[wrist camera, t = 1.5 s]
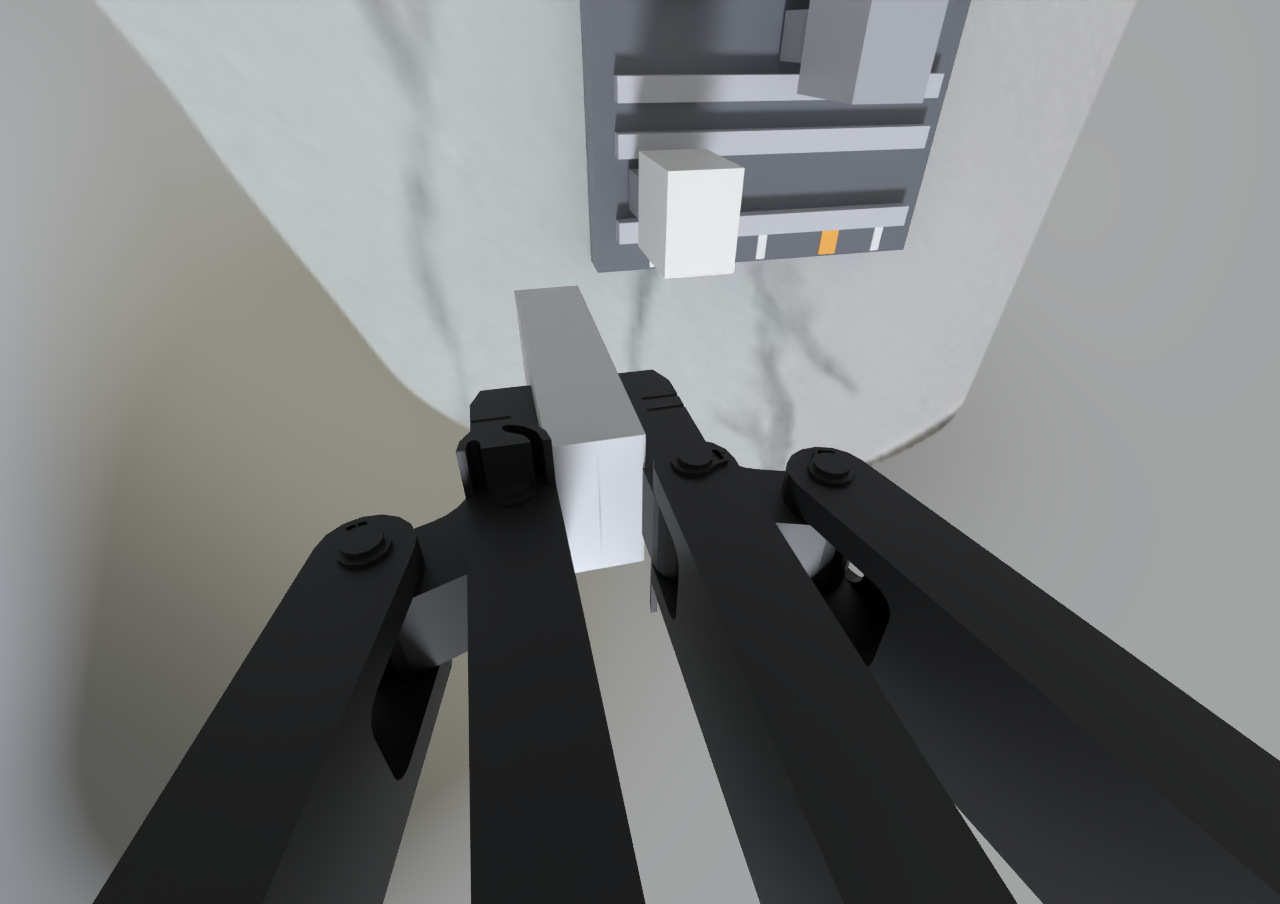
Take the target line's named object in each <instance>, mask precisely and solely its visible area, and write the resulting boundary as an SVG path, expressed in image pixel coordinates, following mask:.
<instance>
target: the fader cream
mask: <svg viewBox="0 0 1280 904" xmlns="http://www.w3.org/2000/svg"><path fill="white" fill-rule="evenodd" d="M744 170H745V168H744V167H742V166H740V165H737V164H735V163H733V162H731V161H729V160H727V159H725V158H723V157H721V156H719V155H717V154H715V153H713V152H711V151H709V150H707V149H683V150H653V151H639V169H629V210H630V211H631V212H632V213H633V214H634V215H635V216H636V217H637V218H638V247H639V248H640V249H641V250H642V252H643V253H644V254H645V255H646V256H647V258H648V259H649V260H650V261H651V263H652V264H653V265H654V266H655V268H656V269H657V270H658V271H659V272H660V274H661V275H662V276H663V277H664V279H668V278H681V277H693V276H706V275H718V274H731V273H734V266H735V257H736V247H737V238H738V228H739V218H740V209H741V199H742V189H743V180H744Z"/></svg>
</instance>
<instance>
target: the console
mask: <svg viewBox="0 0 1280 904" xmlns="http://www.w3.org/2000/svg"><path fill="white" fill-rule="evenodd" d="M970 2H971V0H949V1H948V5H947V9H946V13H945V17H944V21H943V25H942V29H941V33H940V37H939V41H938V45H937V49H936V53H935V57H934V61H933V64H932V68H931V72H930V76H929V80H928V84H927V88H926V92H925V96H924V100H923V103H903V104H847V103H842V102H836V101H831V100H826V99H821V98H816V97H810V96H805V95H800V94H797V88H798V81H799V74H800V67H801V63H797V62H787V61H780V54H781V46H782V38H783V30H784V21H785V13H786V11H787V10H804V9H809V4H810V0H580V9H581V33H582V56H583V79H584V103H585V126H586V149H587V173H588V196H589V220H590V243H591V261H592V263H593V265H594V266H595V268H596V270H597V272H598V273H601V272H614V271H627V270H640V269H653V268H655V266H654V265H653V264H652V263H651V261H650V260H649V259H648V258H647V256H646V255H645V254H644V253H643V252H642V250H641V249H640V248H639V247H638V218H637V217H636V216H635V215H634V214H633V213H632V212H631V211H630V210H629V169H639V151H653V150H683V149H707V150H709V151H711V152H713V153H715V154H717V155H719V156H721V157H723V158H725V159H727V160H729V161H731V162H733V163H735V164H737V165H740V166H742V167H744V168H745V170H744V180H743V189H742V199H741V209H740V218H739V228H738V238H737V247H736V257H735V262H745V261H758V260H771V259H784V258H798V257H811V256H824V255H837V254H850V253H863V252H876V251H889V250H903V248H904V245H905V241H906V237H907V234H908V230H909V226H910V223H911V219H912V215H913V212H914V208H915V204H916V201H917V197H918V193H919V190H920V186H921V182H922V179H923V175H924V171H925V168H926V164H927V160H928V156H929V153H930V149H931V145H932V142H933V138H934V134H935V131H936V127H937V123H938V120H939V116H940V112H941V109H942V105H943V101H944V98H945V94H946V90H947V87H948V83H949V79H950V76H951V72H952V68H953V65H954V61H955V57H956V54H957V50H958V46H959V42H960V39H961V35H962V31H963V28H964V24H965V20H966V17H967V13H968V9H969V6H970Z"/></svg>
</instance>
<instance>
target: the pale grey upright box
mask: <svg viewBox="0 0 1280 904" xmlns="http://www.w3.org/2000/svg"><path fill="white" fill-rule="evenodd" d="M948 1H949V0H810V4H809V9H804V10H787V11H786V13H785V21H784V30H783V38H782V46H781V54H780V61H787V62H797V63H801V67H800V74H799V81H798V88H797V94H800V95H805V96H810V97H816V98H821V99H826V100H831V101H836V102H842V103H847V104H903V103H923V100H924V96H925V92H926V88H927V84H928V80H929V76H930V72H931V68H932V64H933V61H934V57H935V53H936V49H937V45H938V41H939V37H940V33H941V29H942V25H943V21H944V17H945V13H946V9H947V5H948Z"/></svg>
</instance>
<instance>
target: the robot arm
mask: <svg viewBox="0 0 1280 904" xmlns="http://www.w3.org/2000/svg"><path fill="white" fill-rule="evenodd" d="M515 299H516V307H517V315H518V323H519V331H520V339H521V347H522V355H523V363H524V371H525V379H526V386H519V387H510V388H501V389H493V390H484V391H480V392H479V393H478V395H477V396H476V398H475V399H474V400H473V402H472V403H471V405H470V423H471V424H470V432H469V433H468V434H467V435H466V436H465V437H464V438H463V439H462V440H461V441H460V442H459V444H458V447H457V450H456V455H457V460H458V464H459V469H460V473H461V478H462V482H463V487H464V491H465V496H466V499H465V500H464V501H463V502H462V504H460V505H459V506H458V507H457V508H456V509H455V510H453V511H452V512H450V513H449V514H448V515H446V516H444V517H442V518H439V519H437V520H435V521H433V522H431V523H428V524H425V525H423V526H420V527H417V528H415V529H413V527H412V525H411V524H410V523H409V522H407V521H405V520H403V519H402V518H400V517H395V516H389V515H374V516H366V517H361V518H359V519H356V520H353V521H350V522H347V523H345V524H343V525H341V526H339V527H338V528H336V529H335V530H333V531H332V532H330V533H329V534H327V535H326V536H325V537H324V538H323V539H322V540H321V541H320V542H319V544H318V545H317V546H316V547H315V548H314V550H313V551H312V553H311V554H310V556H309V558H308V559H307V561H306V563H305V564H304V566H303V567H302V569H301V570H300V572H299V574H298V575H297V577H296V578H295V580H294V582H293V583H292V585H291V586H290V588H289V590H288V591H287V593H286V594H285V596H284V598H283V599H282V601H281V603H280V604H279V606H278V607H277V609H276V610H275V612H274V614H273V615H272V617H271V619H270V620H269V622H268V623H267V625H266V626H265V628H264V630H263V631H262V633H261V634H260V636H259V638H258V639H257V641H256V643H255V644H254V646H253V647H252V649H251V651H250V652H249V654H248V655H247V657H246V658H245V660H244V662H243V663H242V665H241V666H240V668H239V670H238V671H237V673H236V675H235V676H234V678H233V679H232V681H231V683H230V684H229V686H228V687H227V689H226V691H225V692H224V694H223V696H222V697H221V699H220V700H219V702H218V703H217V705H216V707H215V708H214V710H213V711H212V713H211V715H210V716H209V718H208V719H207V721H206V723H205V724H204V726H203V727H202V729H201V731H200V732H199V734H198V735H197V737H196V739H195V740H194V742H193V744H192V745H191V747H190V748H189V750H188V751H187V753H186V755H185V756H184V758H183V759H182V761H181V763H180V764H179V766H178V768H177V769H176V771H175V772H174V774H173V776H172V777H171V779H170V780H169V782H168V784H167V785H166V787H165V788H164V790H163V792H162V793H161V795H160V796H159V798H158V800H157V801H156V803H155V804H154V806H153V807H152V809H151V811H150V812H149V814H148V816H147V817H146V819H145V820H144V822H143V824H142V825H141V827H140V828H139V830H138V832H137V833H136V835H135V836H134V838H133V840H132V841H131V843H130V844H129V846H128V848H127V849H126V851H125V852H124V854H123V856H122V857H121V859H120V860H119V862H118V864H117V865H116V867H115V868H114V870H113V872H112V873H111V875H110V876H109V878H108V880H107V881H106V883H105V884H104V886H103V888H102V889H101V891H100V892H99V894H98V896H97V897H96V899H95V900H94V902H93V904H383V901H384V898H385V894H386V891H387V887H388V884H389V880H390V877H391V873H392V870H393V867H394V863H395V860H396V856H397V853H398V849H399V845H400V842H401V839H402V835H403V832H404V828H405V825H406V822H407V818H408V815H409V811H410V808H411V804H412V801H413V798H414V794H415V790H416V787H417V784H418V780H419V776H420V773H421V770H422V766H423V763H424V760H425V756H426V753H427V749H428V746H429V742H430V739H431V735H432V732H433V729H434V725H435V722H436V718H437V715H438V711H439V708H440V704H441V701H442V697H443V694H444V691H445V687H446V683H447V680H448V677H449V673H450V670H451V667H452V658H454V657H457V656H458V655H460V654H463V653H464V652H466V651H468V688H469V689H468V694H469V767H470V769H469V770H470V771H469V772H470V843H471V844H470V849H471V904H645V899H644V895H643V890H642V885H641V881H640V876H639V871H638V866H637V862H636V857H635V852H634V848H633V843H632V838H631V834H630V829H629V824H628V819H627V815H626V810H625V806H624V802H623V796H622V791H621V787H620V782H619V777H618V773H617V768H616V763H615V759H614V754H613V749H612V745H611V740H610V735H609V730H608V726H607V721H606V716H605V712H604V707H603V702H602V698H601V693H600V688H599V683H598V679H597V674H596V669H595V665H594V661H593V655H592V651H591V646H590V641H589V637H588V632H587V627H586V622H585V618H584V613H583V608H582V604H581V599H580V594H579V590H578V585H577V580H576V576H575V573H578V572H583V571H589V570H595V569H600V568H606V567H611V566H617V565H622V564H628V563H633V562H639V561H644V541H645V543H646V546H647V549H648V552H649V555H650V557H651V584H650V608H651V612H657V601H658V604H659V607H660V610H661V613H662V616H663V619H664V622H665V624H666V627H667V630H668V633H669V636H670V639H671V642H672V645H673V648H674V651H675V654H676V657H677V660H678V663H679V666H680V669H681V672H682V674H683V677H684V680H685V683H686V686H687V689H688V692H689V695H690V698H691V701H692V704H693V707H694V710H695V713H696V716H697V718H698V721H699V724H700V727H701V730H702V733H703V736H704V739H705V742H706V745H707V748H708V751H709V754H710V757H711V759H712V763H713V766H714V769H715V771H716V774H717V777H718V780H719V783H720V786H721V789H722V792H723V795H724V798H725V801H726V804H727V807H728V810H729V813H730V816H731V818H732V821H733V824H734V827H735V830H736V833H737V836H738V839H739V842H740V845H741V848H742V851H743V853H744V857H745V859H746V863H747V866H748V868H749V871H750V874H751V877H752V880H753V883H754V886H755V889H756V892H757V895H758V898H759V901H760V904H1017V902H1016V901H1015V899H1014V898H1013V896H1012V894H1011V893H1010V891H1009V890H1008V888H1007V887H1006V885H1005V883H1004V882H1003V880H1002V879H1001V877H1000V876H999V874H998V873H997V871H996V869H995V868H994V866H993V865H992V863H991V862H990V860H989V858H988V857H987V855H986V854H985V852H984V850H983V849H982V847H981V846H980V844H979V842H978V841H977V839H976V838H975V836H974V835H973V833H972V831H971V830H970V828H969V827H968V825H967V824H966V822H965V820H964V819H963V817H962V816H961V814H960V813H959V811H958V809H957V808H956V806H957V807H958V808H959V810H960V811H961V812H962V813H963V814H964V815H965V816H966V817H967V818H968V820H969V821H970V822H971V823H972V824H973V825H974V826H975V827H976V829H977V830H978V831H979V832H980V833H981V834H982V835H983V836H984V838H985V839H986V840H987V841H988V842H989V843H990V844H991V845H992V846H993V848H994V849H995V850H996V851H997V852H998V853H999V854H1000V856H1001V857H1002V858H1003V859H1004V860H1005V861H1006V862H1007V863H1008V865H1009V866H1010V867H1011V868H1012V869H1013V870H1014V871H1015V872H1016V873H1017V875H1018V876H1019V877H1020V878H1021V879H1022V880H1023V881H1024V883H1025V884H1026V885H1027V886H1028V887H1029V888H1030V889H1031V890H1032V892H1033V893H1034V894H1035V895H1036V896H1037V897H1038V898H1039V899H1040V900H1041V902H1042V903H1043V904H1280V761H1279V760H1278V759H1276V758H1275V757H1273V756H1272V755H1271V754H1269V753H1268V752H1267V751H1265V750H1264V749H1262V748H1261V747H1259V746H1258V745H1257V744H1256V743H1254V742H1253V741H1251V740H1250V739H1249V738H1247V737H1246V736H1244V735H1243V734H1242V733H1240V732H1239V731H1237V730H1236V729H1235V728H1233V727H1232V726H1231V725H1229V724H1228V723H1226V722H1225V721H1224V720H1222V719H1221V718H1219V717H1218V716H1217V715H1215V714H1214V713H1212V712H1211V711H1210V710H1208V709H1207V708H1205V707H1204V706H1203V705H1201V704H1200V703H1199V702H1197V701H1196V700H1194V699H1193V698H1192V697H1190V696H1189V695H1187V694H1186V693H1185V692H1183V691H1182V690H1180V689H1179V688H1178V687H1176V686H1175V685H1174V684H1172V683H1171V682H1169V681H1168V680H1167V679H1165V678H1164V677H1162V676H1161V675H1159V674H1158V673H1157V672H1155V671H1154V670H1153V669H1151V668H1150V667H1149V666H1147V665H1146V664H1144V663H1143V662H1142V661H1140V660H1139V659H1137V658H1136V657H1135V656H1133V655H1132V654H1130V653H1129V652H1128V651H1126V650H1125V649H1124V648H1122V647H1121V646H1119V645H1118V644H1116V643H1115V642H1114V641H1112V640H1111V639H1110V638H1108V637H1107V636H1105V635H1104V634H1103V633H1101V632H1100V631H1099V630H1097V629H1096V628H1094V627H1093V626H1092V625H1090V624H1089V623H1087V622H1086V621H1085V620H1083V619H1081V618H1080V617H1079V616H1078V615H1076V614H1075V613H1074V612H1072V611H1071V610H1069V609H1068V608H1066V607H1065V606H1064V605H1062V604H1061V603H1060V602H1058V601H1057V600H1055V599H1054V598H1053V597H1051V596H1050V595H1049V594H1047V593H1045V592H1044V591H1043V590H1041V589H1040V588H1039V587H1037V586H1036V585H1035V584H1033V583H1032V582H1030V581H1029V580H1028V579H1026V578H1025V577H1023V576H1022V575H1021V574H1019V573H1018V572H1016V571H1015V570H1014V569H1012V568H1011V567H1010V566H1008V565H1007V564H1005V563H1004V562H1002V561H1001V560H1000V559H998V558H997V557H996V556H994V555H993V554H992V553H990V552H989V551H987V550H986V549H985V548H983V547H982V546H980V545H979V544H978V543H976V542H975V541H973V540H972V539H970V538H969V537H968V536H966V535H965V534H964V533H962V532H961V531H960V530H958V529H957V528H955V527H954V526H953V525H951V524H950V523H948V522H947V521H946V520H944V519H943V518H942V517H940V516H939V515H937V514H936V513H935V512H933V511H932V510H930V509H929V508H928V507H926V506H925V505H923V504H922V503H921V502H919V501H918V500H916V499H915V498H914V497H912V496H911V495H910V494H908V493H907V492H905V491H904V490H903V489H901V488H900V487H898V486H897V485H896V484H894V483H893V482H891V481H890V480H889V479H887V478H886V477H885V476H883V475H882V474H880V473H879V472H878V471H876V470H875V469H873V468H872V467H871V466H869V465H868V464H867V463H865V462H864V461H862V460H861V459H859V458H857V457H855V456H853V455H851V454H850V453H848V452H844V451H841V450H837V449H834V448H824V447H813V448H807V449H802V450H800V451H798V452H796V453H795V454H793V455H792V456H791V457H790V459H789V461H788V463H787V466H786V471H774V470H760V469H751V468H744V467H741V466H739V465H738V463H737V462H736V460H735V458H734V457H733V456H732V455H731V454H730V453H729V452H728V451H727V450H726V449H724V448H722V447H720V446H718V445H716V444H714V443H711V442H706V441H705V440H704V438H703V436H702V435H701V433H700V431H699V430H698V428H697V426H696V424H695V423H694V421H693V419H692V418H691V416H690V414H689V413H688V411H687V409H686V408H685V407H684V405H683V403H682V401H681V399H680V398H679V396H677V393H676V391H675V389H674V388H673V386H672V384H671V383H670V381H669V380H668V379H666V378H665V377H663V376H662V375H660V374H659V373H657V372H656V371H654V370H645V371H636V372H627V373H617V371H616V368H615V366H614V364H613V362H612V360H611V357H610V355H609V353H608V351H607V349H606V347H605V344H604V342H603V340H602V338H601V336H600V333H599V331H598V329H597V327H596V325H595V322H594V320H593V318H592V316H591V314H590V312H589V309H588V307H587V305H586V303H585V301H584V298H583V296H582V294H581V292H580V290H579V288H578V286H566V287H554V288H541V289H529V290H517V291H515ZM849 562H851V563H852V564H854V566H856V567H857V568H858V569H859V570H860V571H861V572H862V573H863V574H864V576H863V577H860V576H858V575H856V574H855V573H854V572H852V571H851V570H850V569H849V568H848V566H849ZM954 804H955V805H956V806H955V805H954Z"/></svg>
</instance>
